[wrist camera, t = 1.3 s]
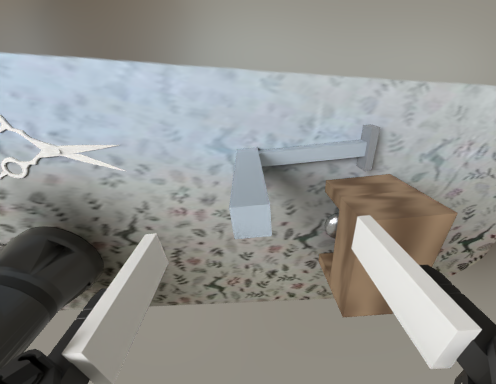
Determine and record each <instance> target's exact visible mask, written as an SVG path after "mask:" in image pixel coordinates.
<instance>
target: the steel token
mask: <svg viewBox="0 0 496 384" xmlns="http://www.w3.org/2000/svg"><path fill="white" fill-rule="evenodd" d="M338 217H339V213H335V214H333V215H331V216H330V217H329V218H328V219H327V220H326V222H325V230H326V231H327V233H328V235H329V236H330V237H332V238H335V239H336V232H337V225H338Z"/></svg>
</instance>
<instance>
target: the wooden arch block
mask: <svg viewBox="0 0 496 384" xmlns="http://www.w3.org/2000/svg"><path fill="white" fill-rule="evenodd" d="M325 192H326V193H327V195H328V196H329V197H330V198H331V200H332V201H333V202H334V203H335V205H336V206H337V207H338V208H339V217H338V225H337V232H336V239H335V246H334V253H324V254H319V263H320V265H321V268H322V270H323V272H324V275H325V277H326V279H327V282H328V284H329V286H330V288H331V291H332V293H333V295H334V298H335V300H336V302H337V304H338V307H339V309H340V311H341V314H342V316H343V317H353V316H354V317H355V316H367V315H381V314H394V313H393V311H392V310H391V308H390V307H389V305H388V304H387V302H386V300H385V299H384V297H383V296H382V294H381V293H380V291H379V290H378V288H377V287H376V285H375V284H374V282H373V281H372V279H371V278H370V276H369V275H368V273H367V272H366V270H365V269H364V267H363V265H362V264H361V262H360V261H359V259H358V258H357V256H356V255H355V253H354V252H353V250H352V249H351V248H352V243H353V238H354V232H355V227H356V222H357V217H358V216H367V215H370V216H371V217H372V218H373V219H374V220H375V221H376V222H377V223H378V224H379V225H380V226H381V227H382V228H383V229H384V230H385V231H386V232H387V233H388V234H389V235H390V236H391V237H392V238H393V239H394V240H395V241H396V242H397V243H398V244H399V245H400V246H401V247H402V248H403V249H404V250H405V251H406V252H407V254H408V255H409V256H410V257H411V258H412V259H413V260H414V261H415V262H416V263H417V264H418V265H429V266H431V267H432V266H433V264H434V262H435V259H436V257H437V255H438V253H439V251H440V249H441V247H442V245H443V243H444V241H445V239H446V236H447V234H448V232H449V230H450V228H451V226H452V224H453V222H454V220H455V218H456V216H457V213H456V212H455V211H453V210H451V209H450V208H448V207H446V206H444V205H443V204H441V203H439V202H437V201H436V200H434V199H432V198H430V197H429V196H427V195H425V194H424V193H422V192H420V191H418V190H417V189H415V188H413V187H411V186H410V185H408V184H406V183H404V182H403V181H401V180H399V179H398V178H396V177H394V176H392V175H391V174H386V175H376V176H366V177H356V178H346V179H336V180H326V187H325Z"/></svg>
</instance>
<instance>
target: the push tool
mask: <svg viewBox="0 0 496 384" xmlns="http://www.w3.org/2000/svg"><path fill="white" fill-rule="evenodd" d="M379 131H380V127H378V126H374V125H371V124H370V125H363V130H362V136H361V140H353V141H343V142H334V143H324V144H315V145H305V146H296V147H286V148H277V149H268V150H258V148H257V147H254V148H245V149H237V153H236V160H235V168H234V175H233V183H232V191H231V198H230V206H229V210H230V215H231V221H232V227H233V232H234V238H235V239H243V238H254V237H265V236H272V231H271V214H270V202H269V198H268V193H267V189H266V184H265V180H264V175H263V171H262V167H265V166H275V165H285V164H295V163H304V162H314V161H324V160H334V159H343V158H353V157H358V160H357V166H358V167H359V168H361V169H362V170H364V171H369V170H372V165H373V160H374V155H375V151H376V146H377V141H378V136H379Z"/></svg>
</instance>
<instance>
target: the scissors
mask: <svg viewBox="0 0 496 384" xmlns="http://www.w3.org/2000/svg"><path fill="white" fill-rule="evenodd" d="M0 122H1V126H0V133H1V132H2V131H4V130H6V129H7V130H9V131H14V132H17V133H18V134H20V135H22V136H23V137H25V138H26V139H28V140H29V141H30V142H32V143H33V144H34V145H35V146H37V147H38V148H40V149H41V150H42V151H41V152H40V153H39V154H38V155H37V156H36V157H35V158H34V159H33V160H32V161H29V162H23V161H19V160H17V159H15V158H13V157H9V158H5V159H4V160H3V161H2V163H1V167H2V169H3V172H2V173H1V174H0V179H2V177H3V176H5V175H7V174H8V175H9V176H11V177H15V178H23V177H25V176H26V175H27V174H28V167H29V166H30V164H37V162H38V160H39V159H40V158H42V157H53V156H64V157H68V158H72V159H75V160H79V161H83V162H87V163H91V164H95V165H100V166H104V167H108V168H113V169H117V170H122V169H120V168H117V167H114V166H112V165H109V164H106V163H103V162H101V161H98V160H95V159H92V158H89V157H87V156H84V155H81V154H73V153H79V152H85V151H91V150H97V149H102V148H108V147H113V146H118V145H70V146H55V145H52V144H49V143H45V142H42V141H39V140H37V139H34V138H31V137H30V136H28V135H27V134H26V133H25V132H24V131H23V130H19V129H15V128H13V127H12V126H11V125H10V124H9V123H8V122H7V121H6V120H5V119H4V118H3V117H2V116H1V115H0ZM8 162H14V163H17V164H18V165H20V166H21V167H22V170H23V172H22V174H13V173H12V172H10V171H9V170H8V169H7V167H6V163H8ZM123 171H125V170H123Z"/></svg>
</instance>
